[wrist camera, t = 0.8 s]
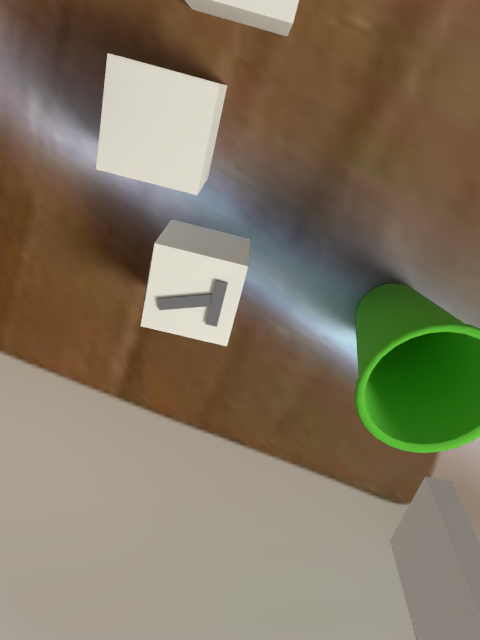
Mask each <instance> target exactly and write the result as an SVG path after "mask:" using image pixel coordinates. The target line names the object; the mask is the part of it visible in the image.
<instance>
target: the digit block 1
mask: <svg viewBox="0 0 480 640" xmlns="http://www.w3.org/2000/svg"><path fill="white" fill-rule="evenodd" d="M185 2H186V3H187V4H188V5H189V6H190V7H191V9H193V10H196V11H200V12H203V13H207V14H210V15H214V16H217V17H221V18H224V19H228V20H231V21H235V22H238V23H242V24H245V25H249V26H252V27H256V28H259V29H263V30H266V31H270V32H273V33H277V34H280V35H284V36H288V34H289V31H290V29H291V27H292V25H293V22H294V18H295V14H296V10H297V6H298V2H299V0H185Z"/></svg>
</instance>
